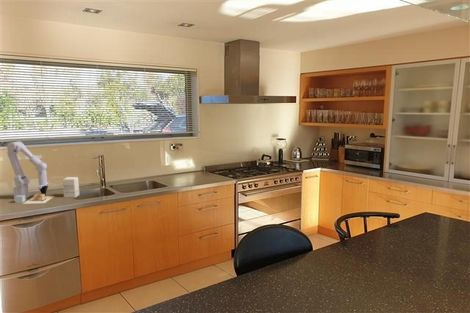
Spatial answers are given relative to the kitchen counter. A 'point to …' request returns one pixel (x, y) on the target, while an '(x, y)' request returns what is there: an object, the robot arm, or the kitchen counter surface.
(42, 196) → the oak block
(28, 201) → the letter board
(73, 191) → the supplement box
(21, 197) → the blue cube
